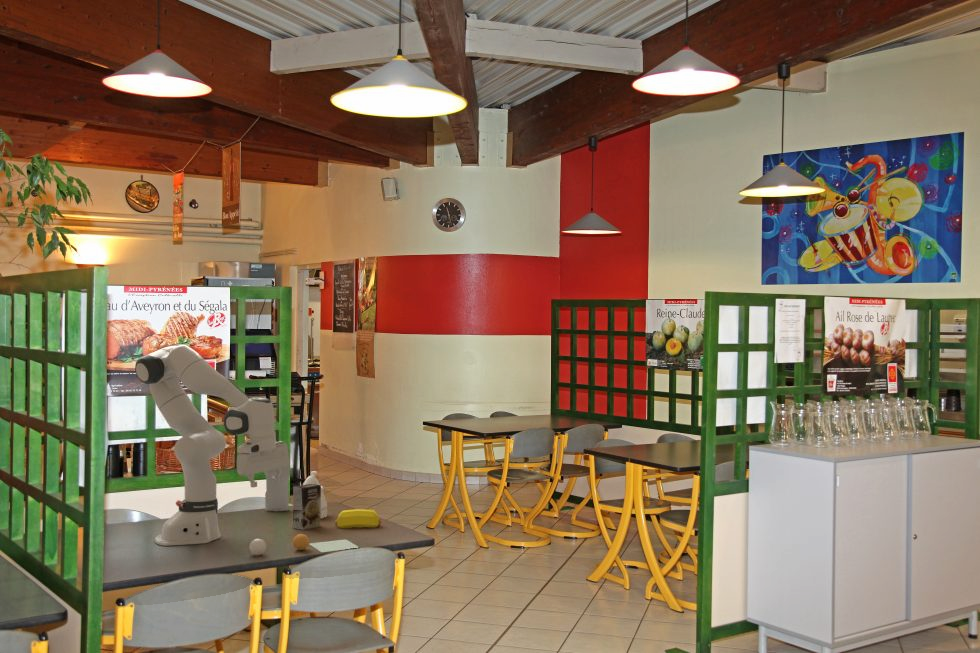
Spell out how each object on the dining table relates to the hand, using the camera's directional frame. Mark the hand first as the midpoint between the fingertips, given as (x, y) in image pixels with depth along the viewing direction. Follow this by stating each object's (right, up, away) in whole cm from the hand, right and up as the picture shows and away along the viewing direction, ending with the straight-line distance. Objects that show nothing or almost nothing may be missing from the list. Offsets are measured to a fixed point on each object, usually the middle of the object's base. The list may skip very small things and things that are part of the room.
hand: (265, 484), depth 308 cm
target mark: (+22, -23, +8) cm, 33 cm away
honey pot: (+4, -24, +59) cm, 63 cm away
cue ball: (-1, -20, -5) cm, 21 cm away
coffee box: (+6, -24, +38) cm, 45 cm away
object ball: (+12, -20, +2) cm, 24 cm away
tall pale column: (-13, -23, +70) cm, 75 cm away
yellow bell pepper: (+26, -24, +40) cm, 53 cm away
